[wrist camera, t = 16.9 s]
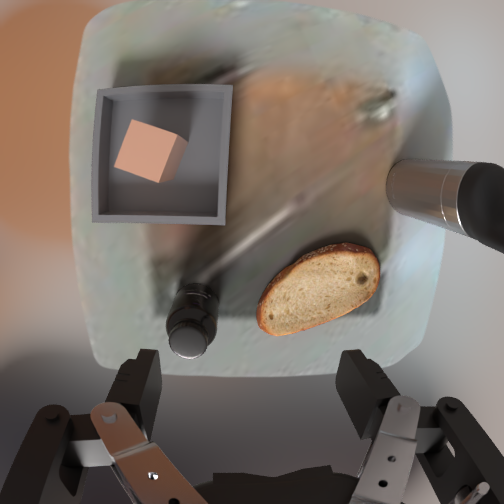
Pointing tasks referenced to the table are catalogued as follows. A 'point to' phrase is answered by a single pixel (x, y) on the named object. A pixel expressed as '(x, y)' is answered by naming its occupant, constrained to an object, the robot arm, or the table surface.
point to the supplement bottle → (192, 320)
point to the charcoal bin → (192, 163)
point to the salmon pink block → (151, 152)
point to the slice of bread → (318, 288)
